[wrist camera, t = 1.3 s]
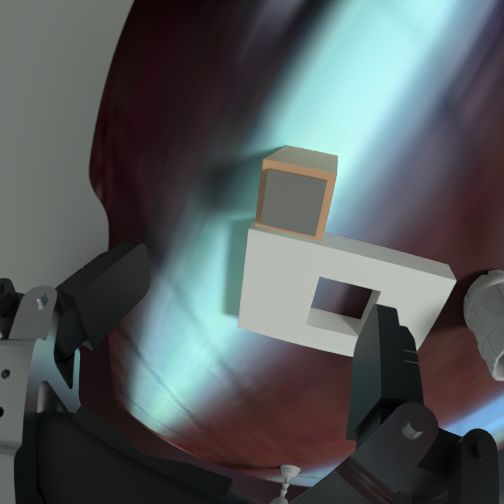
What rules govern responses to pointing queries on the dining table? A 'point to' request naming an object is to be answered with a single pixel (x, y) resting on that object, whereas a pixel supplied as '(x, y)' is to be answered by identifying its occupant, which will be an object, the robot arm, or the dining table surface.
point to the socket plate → (340, 269)
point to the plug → (296, 191)
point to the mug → (488, 319)
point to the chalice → (286, 482)
